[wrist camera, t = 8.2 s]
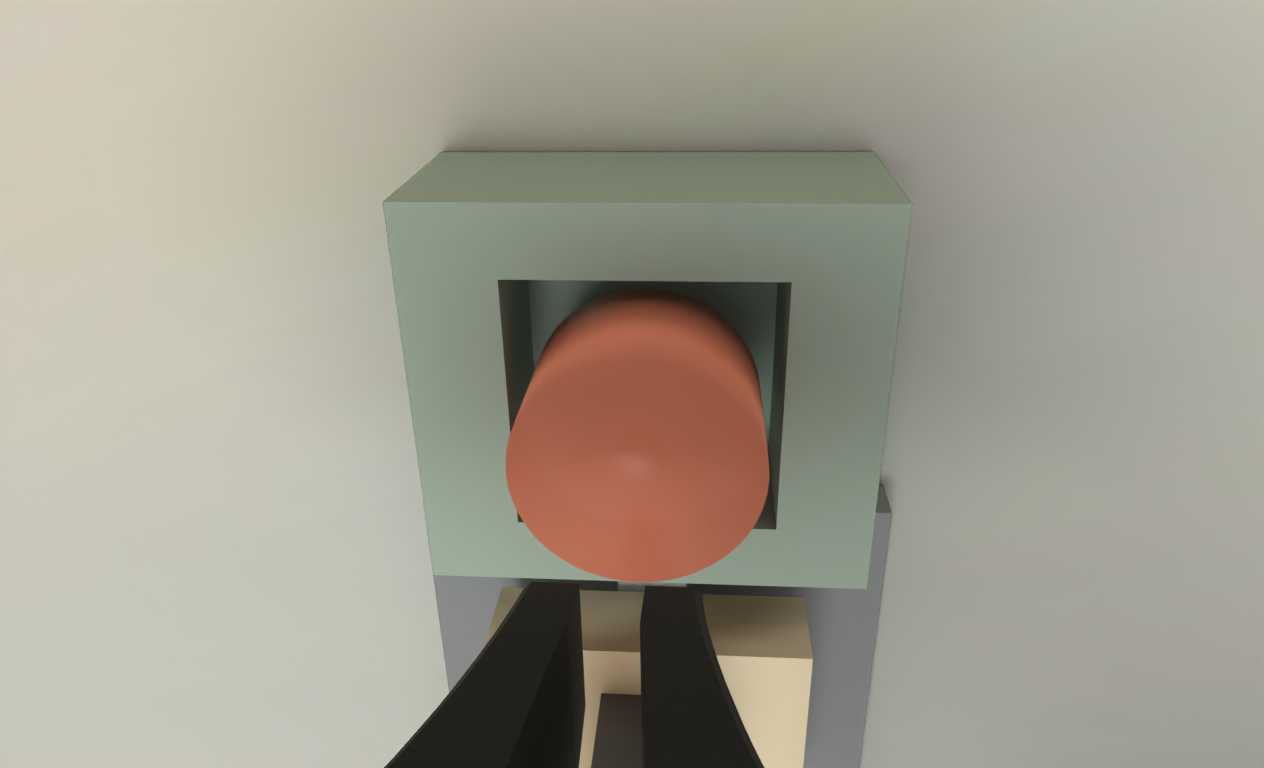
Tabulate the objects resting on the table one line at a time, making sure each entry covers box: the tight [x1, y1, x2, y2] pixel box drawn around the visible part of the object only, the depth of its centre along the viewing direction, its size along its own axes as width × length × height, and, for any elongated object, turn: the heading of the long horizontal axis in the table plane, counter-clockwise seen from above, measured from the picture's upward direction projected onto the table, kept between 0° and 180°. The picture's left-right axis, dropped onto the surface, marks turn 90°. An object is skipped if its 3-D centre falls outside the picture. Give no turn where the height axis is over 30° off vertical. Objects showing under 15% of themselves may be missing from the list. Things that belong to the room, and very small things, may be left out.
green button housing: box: [383, 152, 912, 589], centre depth 19 cm, size 9×8×4 cm
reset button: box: [506, 289, 769, 582], centre depth 17 cm, size 4×4×3 cm
